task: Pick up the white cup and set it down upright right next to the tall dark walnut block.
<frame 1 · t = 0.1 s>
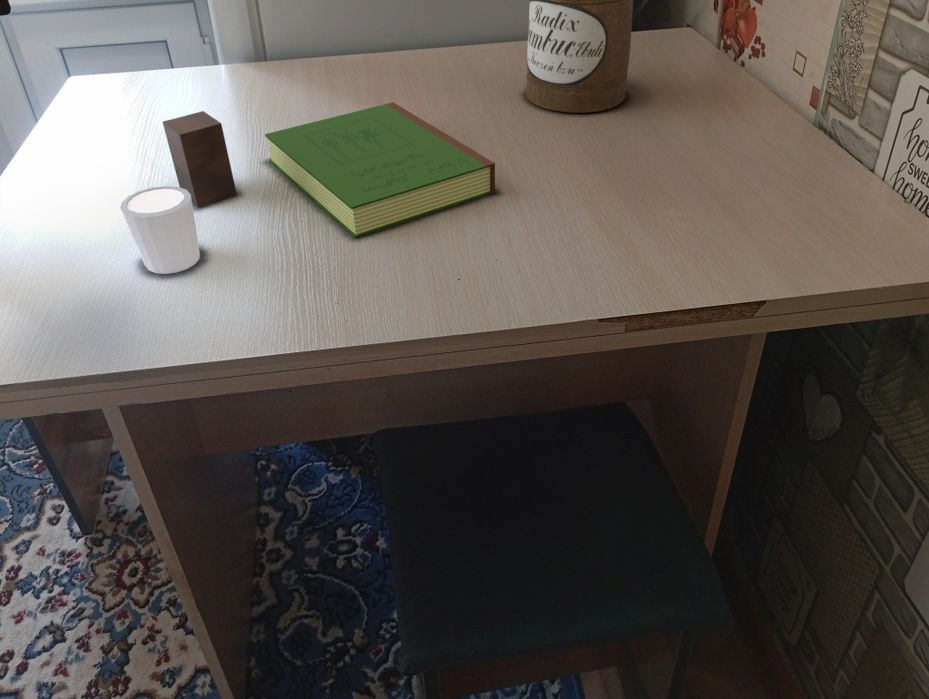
walnut block: (209, 194, 95), on the table
white cup: (173, 261, 83), on the table
wooden container: (575, 97, 119), on the table
hardcover book: (376, 176, 99), on the table
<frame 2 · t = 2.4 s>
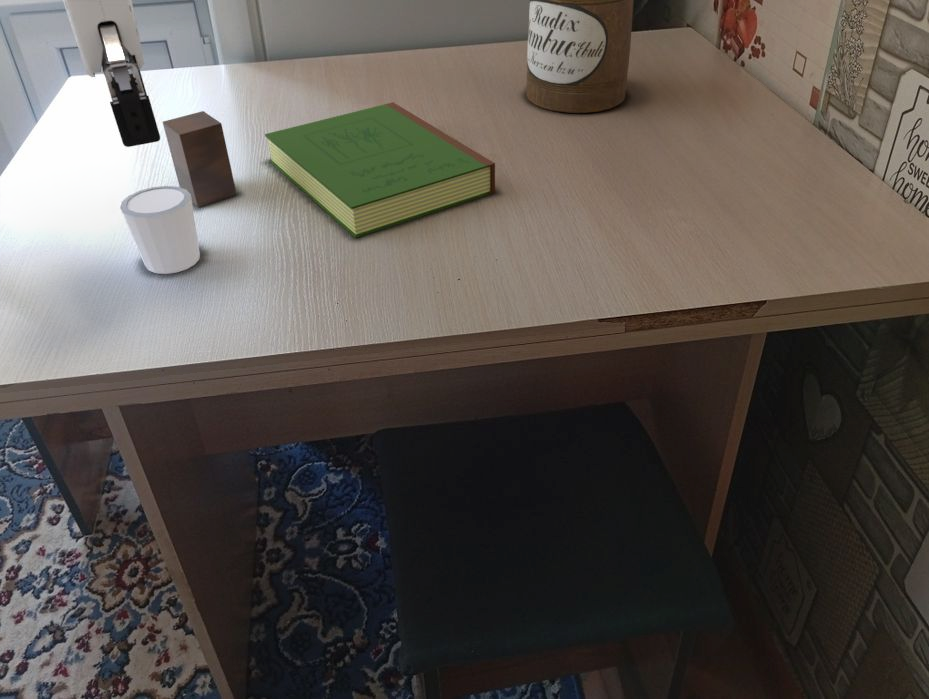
hand: (137, 124, 74), 15 cm above the table, tool pointing down, fingers open, 9 cm apart
nothing on the table moved.
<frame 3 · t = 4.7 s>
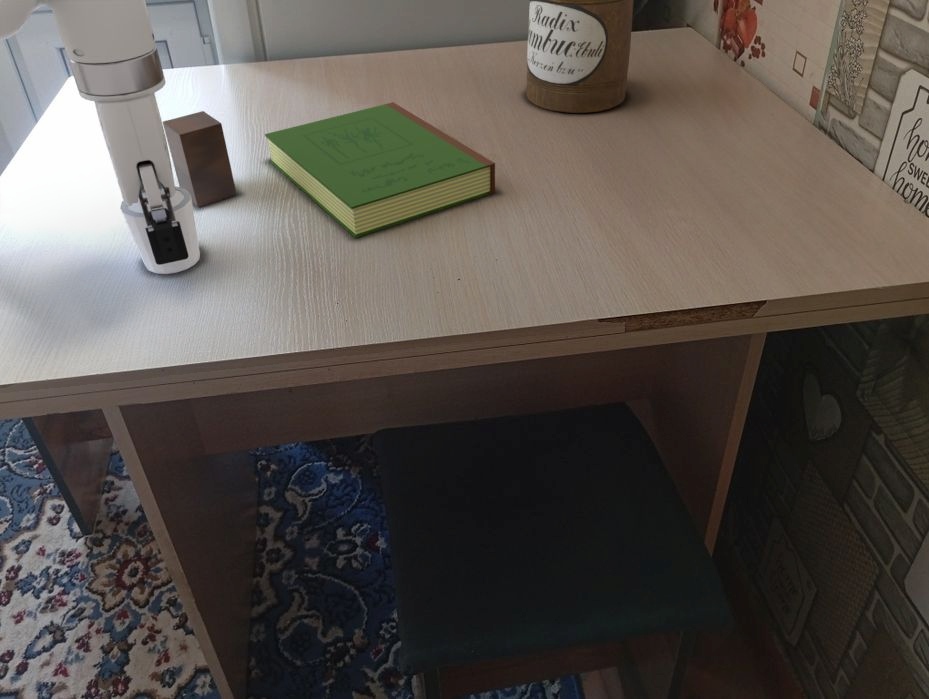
hand: (167, 242, 82), 2 cm above the table, tool pointing down, fingers closed on white cup, 6 cm apart
white cup: (173, 261, 83), on the table, touching gripper
everything else where it was.
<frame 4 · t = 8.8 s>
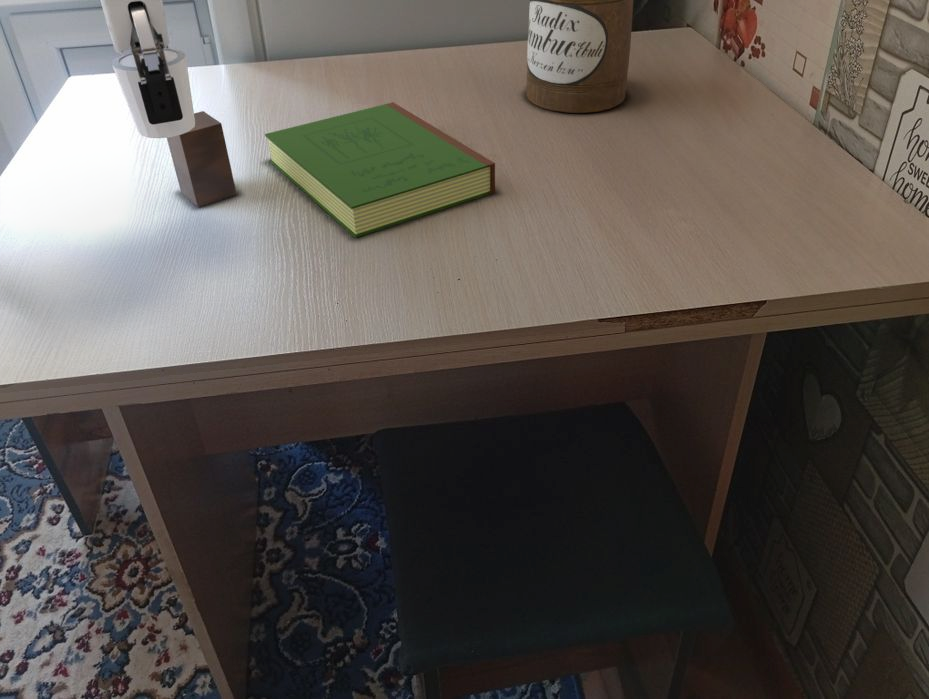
hand: (161, 106, 79), 14 cm above the table, tool pointing down, fingers closed on white cup, 6 cm apart
white cup: (167, 129, 80), point 12 cm above the table, touching gripper
everything else where it was.
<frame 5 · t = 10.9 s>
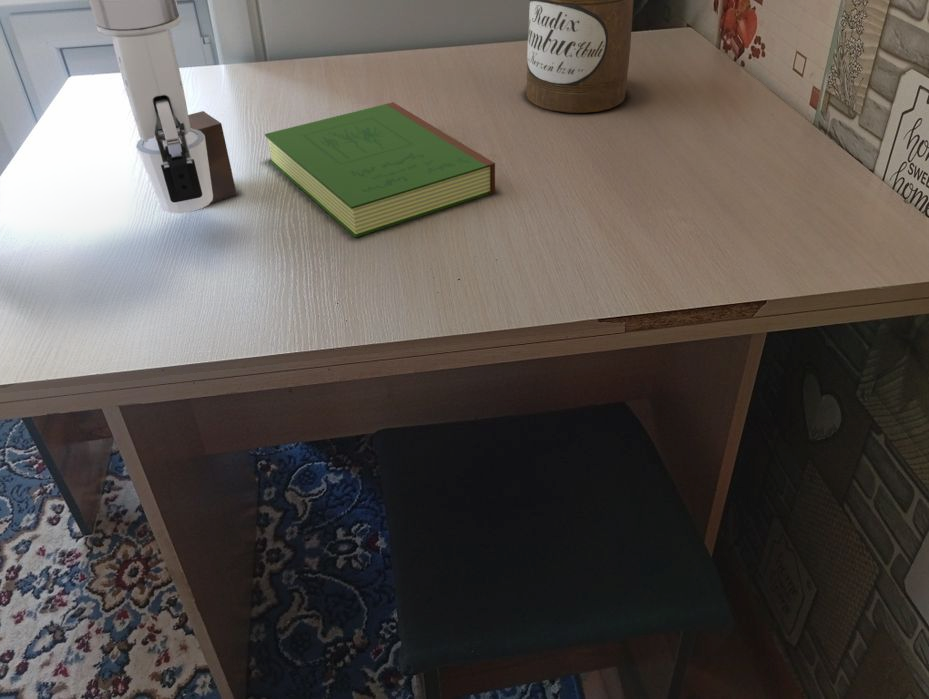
hand: (181, 182, 84), 6 cm above the table, tool pointing down, fingers closed on white cup, 6 cm apart
white cup: (187, 202, 86), point 4 cm above the table, touching gripper
everything else where it was.
when the fingers open (2 cm above the table, at t = 12.9 s): white cup stays where it is, on the table.
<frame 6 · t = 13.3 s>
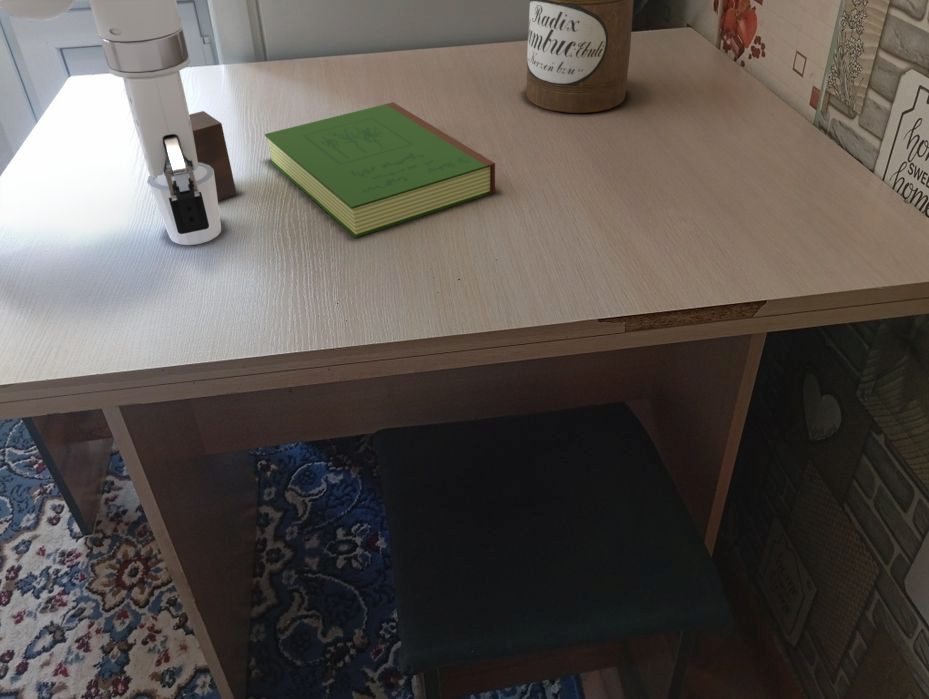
hand: (187, 210, 86), 3 cm above the table, tool pointing down, fingers open, 9 cm apart
white cup: (196, 233, 88), on the table
everything else where it was.
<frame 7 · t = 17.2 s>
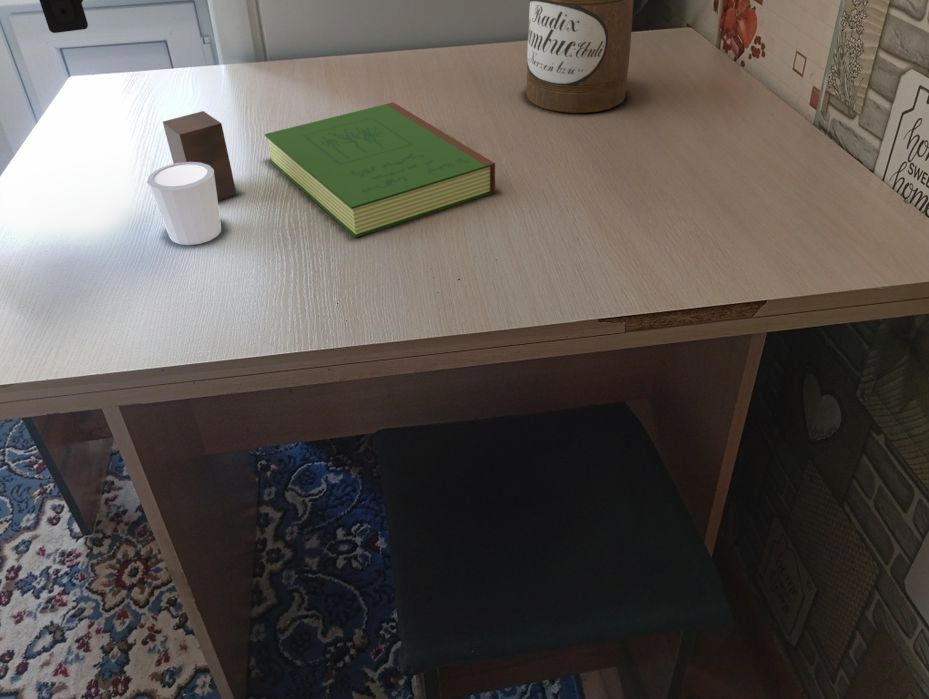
hand: (68, 16, 73), 23 cm above the table, tool pointing down, fingers open, 9 cm apart
nothing on the table moved.
at the end: white cup 9.4 cm from the walnut block (horizontally); white cup tilted 0°; walnut block moved 0.0 cm from its start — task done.
